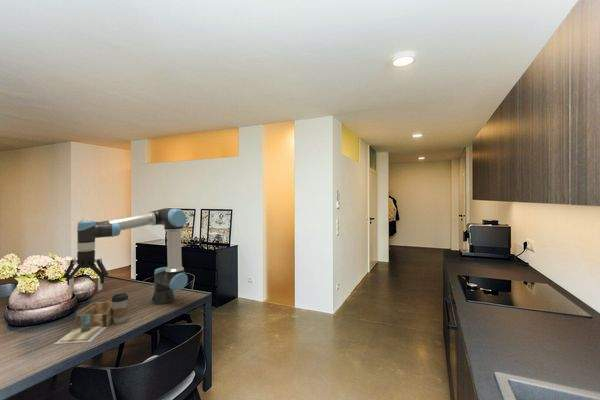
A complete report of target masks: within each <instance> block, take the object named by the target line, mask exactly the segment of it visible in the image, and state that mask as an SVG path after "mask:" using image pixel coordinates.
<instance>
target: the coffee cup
mask: <svg viewBox="0 0 600 400" xmlns="http://www.w3.org/2000/svg"><path fill="white" fill-rule="evenodd" d="M128 300H129V295H128V293H117V294H115V295H112V298H111V301H110V302H112V314H113V322H112V323H113V324H115V325H118V324H123V323H125V322H126V321H127V316H128V315H127V314H128V308H129V307H128V304H129V303H128V302H129V301H128Z"/></svg>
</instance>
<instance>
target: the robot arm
mask: <svg viewBox="0 0 600 400" xmlns="http://www.w3.org/2000/svg"><path fill="white" fill-rule="evenodd" d="M186 223H187V214H186V212H185V211H184V210H182V209H179V208H175V207H174V208H171V207H170V208H169V207H168V208H167V207H165V208H160V209H156V210H152V211H149V212H148V213H143V214H137V215H131V216H126V217H120V218H115V219H114V218H113V219H109V220H102V221H95V220H82V221H81V220H80V221H79V222H77V230H76V231H77V235H76V237H77V238H76V239H77V245H76V246H77V248H76V249H77V251H76V255H77V256H76V258H77V259H71V260H69V265H68V266H67V269H66V270H65V272H64V274H63V276H62V278H63V279H67V280H66V282H67V283H66V284H67V285H68V286H69V287H68V292H69V293H72V292H73V291H74V290H75V278H74V276H75V275H76V274H77V273H78V272H79V271H80V270H81V269H91V270H92V271H93V272H94V273H95V274H96V275H97V276H98V278H97V279H98V280H97V284H98V285H97V291H101V290H103V284H104V283H105V278H106V277H107V276H109V273H108V271H107V269H106V268H105V266H104V263H103V259H102V258H97V259H96V250H95V249H96V239H99V238H111V237H112V238H113V237H118V236H120V234H121V232H122V231H125V230H129V229H130V230H131V229H135V228H141V227H145V226H152V227H153V226H158V225H159V226H164V227H163V230H164V231H165V232H166V245H167V246H166V250H167V255H166V256H167V258H166V259H167V266H163V267H159V268H156V269H155V270H154V274H153V277H154V283H153V286H154V290H153V293H152V296H151V299H150V300H151V301H150V302H151V304H153V305H166V304H171V303H173V302H175V301H176V295H175V291H176V292H177V291H178V292H179V291H181V290H183V289H184V288H185V287H186V286H187V283H188V280H189V279H188V275H187V274H186V273H185V268H184V267H183V264H182V263H183V261H182V231H183V229H184V225H185V224H186ZM76 264H77V265H76ZM96 264H97V265H96ZM75 265H76V267H75ZM97 266H98V267H97ZM74 267H75V268H74ZM73 268H74V269H73Z"/></svg>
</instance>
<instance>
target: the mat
mask: <svg viewBox="0 0 600 400" xmlns="http://www.w3.org/2000/svg"><path fill="white" fill-rule="evenodd" d="M107 328H108V326H107V327H102V329H100V330H99V331H98V332H97V333H96V334H95V335H93V336H92V337H91V338H90V339H89V340H88V341H74V342H60V340H61V339H63V338H64V337H65V336H67V335H68V334H70V333H71V332H72V331H74V330H75V329H76V328H73V329H72V330H71V331H69V332H68V333H67V334H65V335H64V336H63V337H62V338H60V339H59V340H57V341H56V342H54V343H53V345H69V344H86V343H92V342H93V341H94V340H95V339H96V338H98V337H99V336H100V334H102V333H103V332H104V331H105V330H106V329H107Z"/></svg>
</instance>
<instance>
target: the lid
mask: <svg viewBox="0 0 600 400" xmlns="http://www.w3.org/2000/svg"><path fill="white" fill-rule="evenodd" d="M74 329H75V330H74V331H72V330H71V331H72V332H71V331H70V332H71V333H70V334H68V333H67V334H68V335H67V334H66V335H67V336H65V335H64V336H65V337H64V336H63V337H64V338H63V337H62V338H63V339H61V338H60V339H61V340H60V339H59V340H60V342H74V341H88V340H89V339H90V338H91V337H92V336H93V335H95V334H96V333H97V332H98V331H99V330H100V329H102V326H97V327H90V314H83V315H81V327H80V328H76V327H75V328H74Z"/></svg>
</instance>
